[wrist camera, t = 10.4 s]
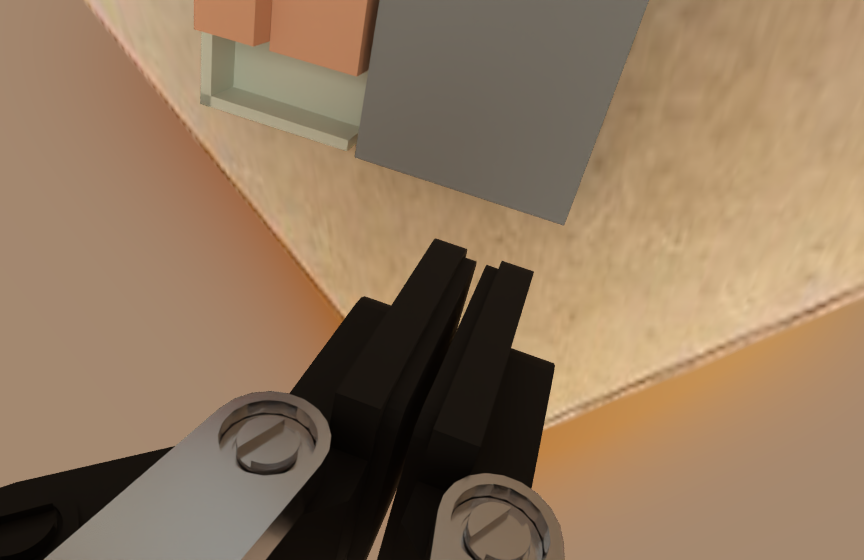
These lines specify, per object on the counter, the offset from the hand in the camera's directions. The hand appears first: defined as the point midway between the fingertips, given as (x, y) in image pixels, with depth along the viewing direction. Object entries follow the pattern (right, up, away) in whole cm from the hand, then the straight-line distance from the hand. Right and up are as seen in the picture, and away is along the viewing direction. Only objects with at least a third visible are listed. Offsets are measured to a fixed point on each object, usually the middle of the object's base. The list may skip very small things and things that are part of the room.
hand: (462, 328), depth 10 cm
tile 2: (-5, +14, +20) cm, 25 cm away
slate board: (+3, +12, +20) cm, 23 cm away
